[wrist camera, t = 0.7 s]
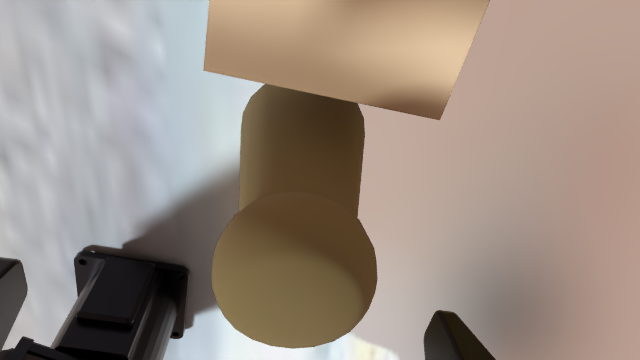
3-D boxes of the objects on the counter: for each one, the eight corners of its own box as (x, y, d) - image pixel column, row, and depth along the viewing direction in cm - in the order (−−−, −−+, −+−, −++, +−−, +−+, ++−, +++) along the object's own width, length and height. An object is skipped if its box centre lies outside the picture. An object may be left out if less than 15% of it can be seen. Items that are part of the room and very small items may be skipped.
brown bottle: (265, 194, 24) (233, 389, 15) (221, 92, 21) (146, 262, 12) (376, 168, 23) (413, 359, 14) (348, 57, 20) (375, 213, 11)
